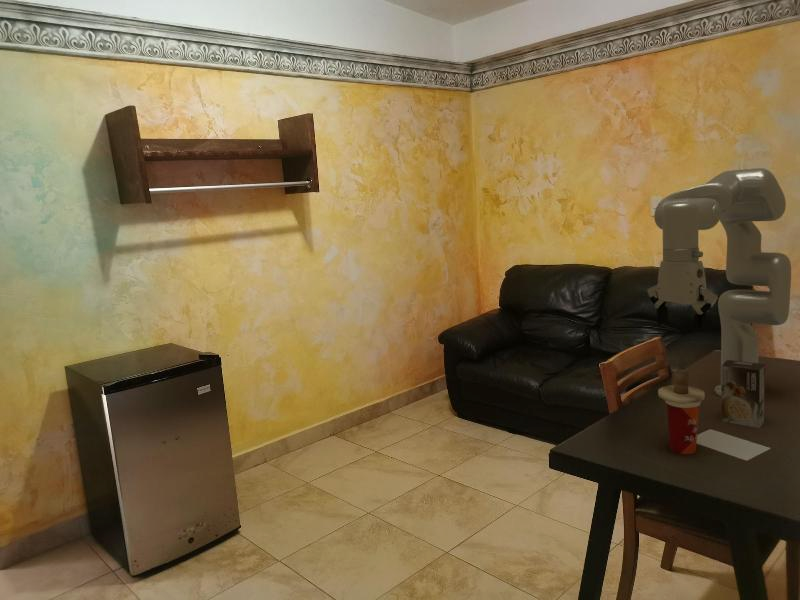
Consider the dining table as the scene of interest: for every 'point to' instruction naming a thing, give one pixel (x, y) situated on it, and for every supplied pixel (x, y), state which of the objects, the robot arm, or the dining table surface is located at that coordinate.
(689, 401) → the lid
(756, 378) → the coffee box
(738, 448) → the mat
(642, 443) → the dining table surface
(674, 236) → the robot arm
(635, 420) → the dining table surface
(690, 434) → the paper cup
